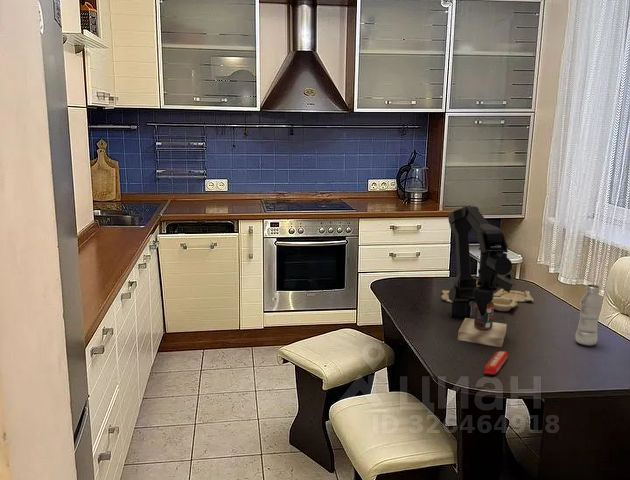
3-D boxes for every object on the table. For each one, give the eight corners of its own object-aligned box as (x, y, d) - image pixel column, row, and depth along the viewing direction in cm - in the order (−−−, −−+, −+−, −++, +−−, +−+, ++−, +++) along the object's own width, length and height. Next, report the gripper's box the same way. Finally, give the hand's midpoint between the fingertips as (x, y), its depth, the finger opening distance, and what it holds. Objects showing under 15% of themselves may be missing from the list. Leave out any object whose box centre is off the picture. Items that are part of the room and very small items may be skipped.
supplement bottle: (492, 331, 189) (495, 299, 187) (474, 329, 191) (477, 297, 188) (491, 325, 195) (494, 293, 193) (473, 323, 196) (475, 292, 194)
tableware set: (538, 297, 236) (539, 288, 235) (523, 318, 212) (524, 308, 211) (455, 283, 254) (456, 274, 253) (432, 301, 229) (433, 291, 228)
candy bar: (496, 356, 178) (497, 347, 177) (508, 359, 176) (509, 350, 176) (481, 375, 165) (482, 366, 164) (494, 379, 163) (495, 369, 162)
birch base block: (457, 339, 190) (458, 331, 189) (464, 325, 202) (465, 317, 202) (501, 347, 184) (502, 338, 184) (505, 332, 197) (506, 324, 196)
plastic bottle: (570, 340, 191) (577, 283, 186) (589, 340, 191) (597, 283, 187) (580, 348, 185) (588, 289, 180) (600, 347, 185) (609, 289, 181)
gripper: (511, 277, 176) (506, 324, 180) (516, 262, 193) (512, 306, 196) (474, 272, 181) (470, 318, 184) (482, 259, 197) (479, 301, 201)
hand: (484, 311), depth 191 cm, fingers open, 9 cm apart
